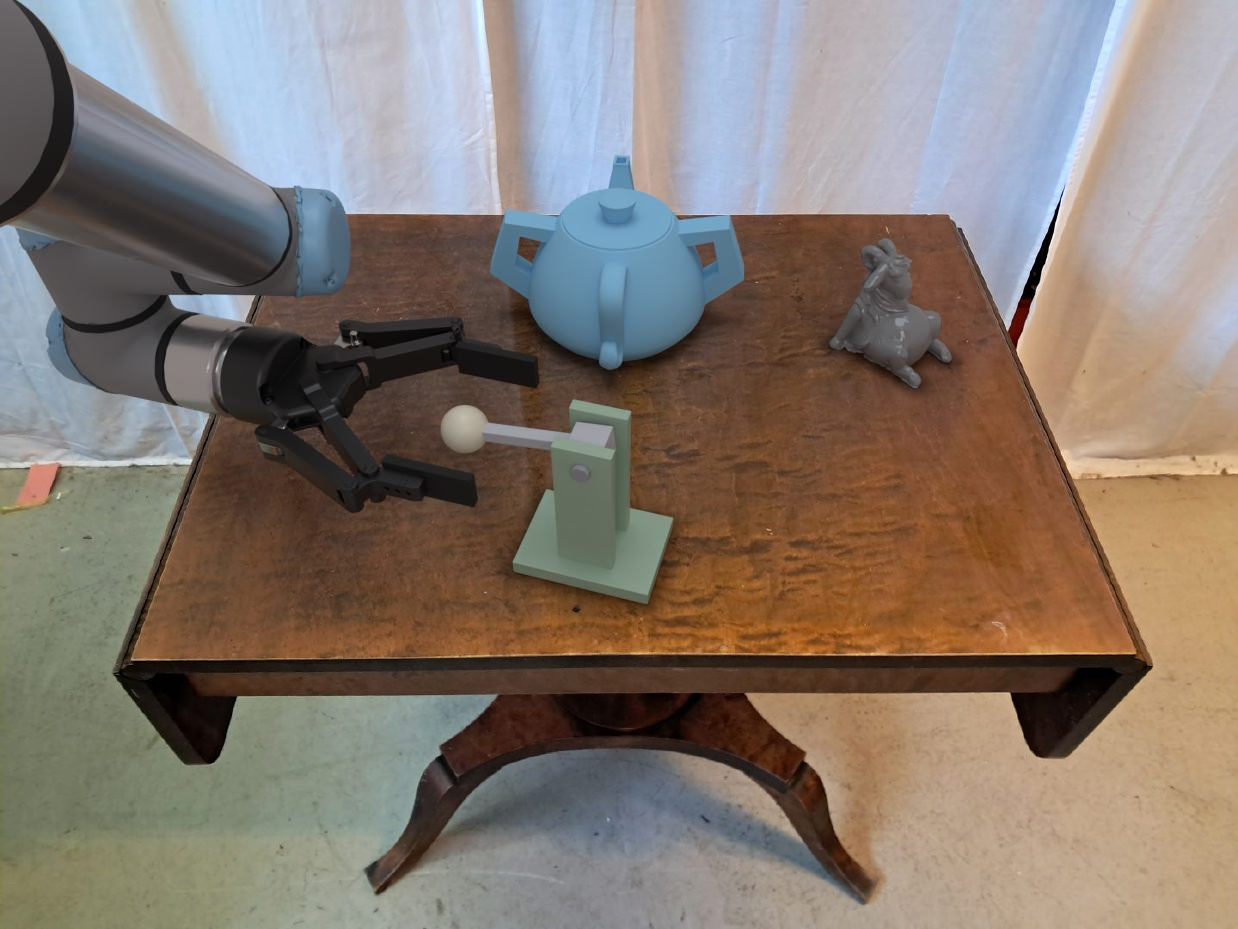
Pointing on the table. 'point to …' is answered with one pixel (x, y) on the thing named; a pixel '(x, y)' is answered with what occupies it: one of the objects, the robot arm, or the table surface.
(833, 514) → the table surface
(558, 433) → the knob lever
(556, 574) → the green lever stand
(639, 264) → the teapot
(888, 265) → the figurine
